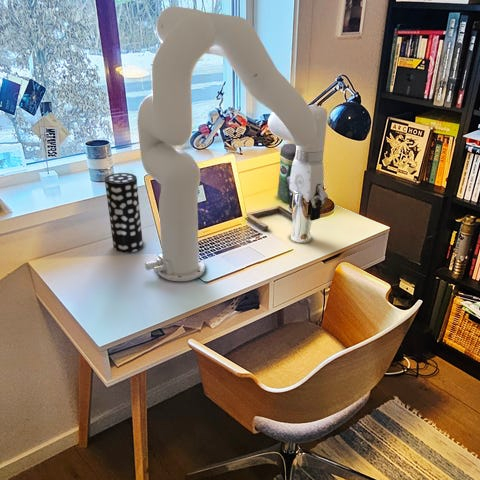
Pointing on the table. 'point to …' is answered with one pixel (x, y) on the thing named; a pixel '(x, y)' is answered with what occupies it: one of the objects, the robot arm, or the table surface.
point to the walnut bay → (265, 212)
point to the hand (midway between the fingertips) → (304, 213)
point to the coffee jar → (285, 170)
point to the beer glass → (301, 218)
